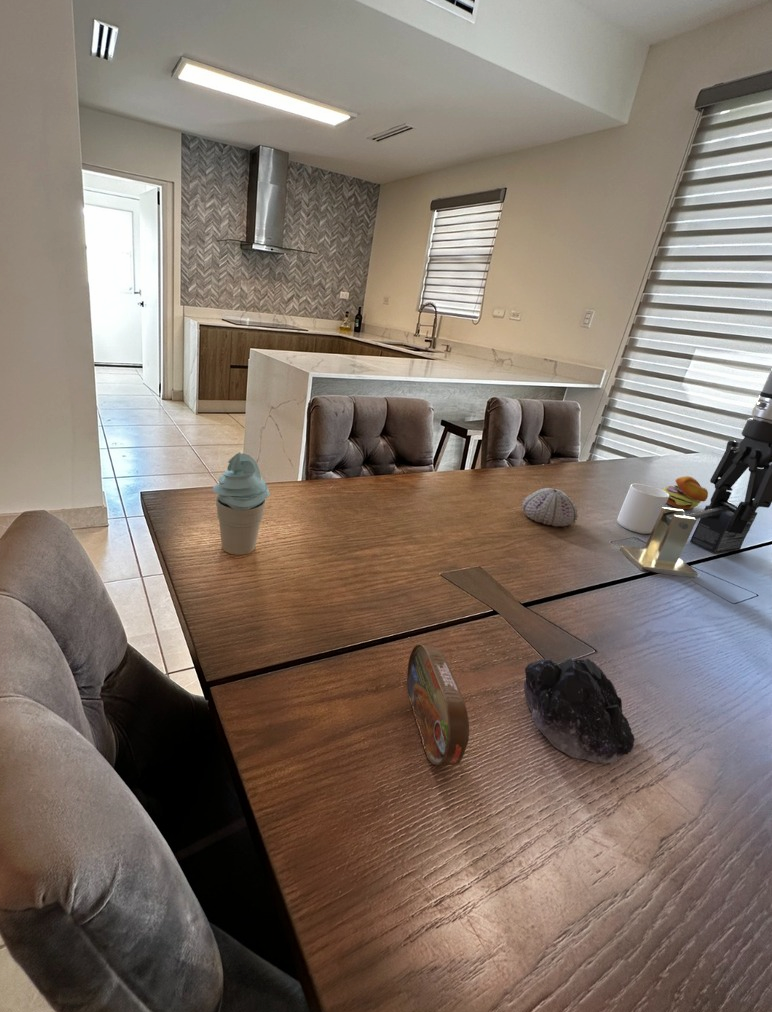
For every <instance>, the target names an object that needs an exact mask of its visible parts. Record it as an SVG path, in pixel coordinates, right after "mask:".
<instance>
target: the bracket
mask: <svg viewBox="0 0 772 1012" xmlns="http://www.w3.org/2000/svg"><path fill="white" fill-rule="evenodd" d="M678 512H680V513H682V514H683V515H685V513H686V512H685V509H681V508H675V507H674V508H673V507H666V506H665V507H662V509H661V511H660V514H659V516H658V518H657V521H656V523H655V525H654V527H653V530H652V532H651V533H650V534H649V537H648V539H647V542H646V544H645V546H644V548H642V547H634V546H626V545H621V546H620V549H619V551H620V552H621V553H622V554H623V555H624V556H625V557H626V558H627V559H628V560H629V561H630V562H631V563H632V564H633V565H634V566H635V567H636V568H638V569H639V571H641V572H647V573H654V574H655V573H656V574H663V575H670V576H677V577H685V578H692V579H697V577H698V576H699V572H697V571H696V570H695V569H694V568H693V567H691V566H690V565H689V564H687V562H685V561H684V560H683V559H682V558H680V557H681V555H682V553H683V550H684V548H685V546H686V545H687V542H688V540H689V538H690V536H691V534H692V533H693V529H694V527H695V525H696V524H697V520H698V519H696V518H694V517H686V516H678V515H673V518H672V520H671V522H670V524H669V526H668V525H667V524H666V515H669V514H673V513H678Z"/></svg>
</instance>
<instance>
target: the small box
mask: <svg viewBox="0 0 772 1012" xmlns="http://www.w3.org/2000/svg"><path fill="white" fill-rule="evenodd" d="M733 504H734V505H736V506H737V507H738V505H737V504H735V503H733ZM709 505H710V504H708V505H705V507H704V509H703V511H705V510H707V509H708V507H709ZM733 515H734V513H733V512H731V511H730V512H726V513H722V514H721V516H720V518H719V519H711V518H706V517H704V518H699V520H698V522H697V523H696V524H697V525H696V527H695V529H694V531H693V532H692V535H691V538H690V539H689V543H690V544H693V545H695V546H697V547H699V548H701V549H703V550H705V551H707V552H710V553H712V554H714V555H715V554H721V553H728V552H734V551H740V550H741V547H742V546H743V543H744V541H745V539H746V536H747V535H748V533H749V531H750V529H751V527H752V525H753V523H754V521H755V520H756V517H757V516H758V512H756V511H755V513H754V515H753V517H752V519H751V520H750V521H748V522H747V524H746V526H745V528H744V530H743V532H742V534H740V533H732V532H728V531H726V529H727V527H728V525H729V523H730V521H731V519H732V517H733Z"/></svg>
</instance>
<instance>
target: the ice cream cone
mask: <svg viewBox="0 0 772 1012" xmlns="http://www.w3.org/2000/svg"><path fill="white" fill-rule="evenodd" d="M227 463H228V466H227V470H225V471H223V472H222V474H223V475H221V476H220V477H219V478H218V483H217V484H215V485H214V486H213V487H212V491H213V493H215V494H216V495H217V496H216V499H215V506H216V515H217V519H218V523H219V532H220V543H221V548H222V550H223V551H224V552H226V553H227V552H228V554H231V555H234V554H235V556H242V555H243V556H244V555H248V554H250V553H252V552H254V551H255V549H256V546H257V541H258V535H259V531H260V526H261V522H262V520H263V517H264V511H265V508H266V499H268V498H269V497H270V495H271V492H270V490H269V489H268V488H269V486H268V484H267V483H266V481H265V480H264V478H263V477H262V474H261V471H260V470H261V469H260V468H259V465H258V463H257V461H256V460H255V458H254V457H252V456H251V455H249V454H246V453H241V451H239V452H238V453H236V454H235V455H233V456H232V457H231V458H230V459H228V460H227Z"/></svg>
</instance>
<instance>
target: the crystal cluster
mask: <svg viewBox="0 0 772 1012" xmlns="http://www.w3.org/2000/svg"><path fill="white" fill-rule="evenodd" d="M524 673H525V679H524V682H523V693H524V696H525V699H524V700H525V705H526V707H528V709H529V708H530V709H529V710H531V711H530V713H531V715H532V716H531V719H532V720H533V722H534V726H535V727H536V728H537V729H538V730H539V731H540V732H541V733H542V735H543V736H544V737H545V738H547V740H548V742H549V743H550V744H551V745H552V746H553V747H554V748H555V749H557V750H559V751H560V752H562V753H564V754H566V755H567V756H569V757H570V758H572V759H581V760H586V761H589V762H591V763H594V764H596V763H601V764H610V763H613V764H615V763H616V762H617V761H620V760H621V759H622V758H623V757H624V756H625V755H628V754H629V753H631V752H632V750H633V749H634V747H635V744H634V743H635V735H634V734H633V732H632V728H631V727H630V722H629V720H628V719H627V717H626V716H625V715H624V713H623V701H622V697H620V696H619V695H618V691H617V689H616V688H615V686H614V684H613V682H612V681H611V680H610V679H609V678H607V675H606V674H605V673H604V671H603V670H602V669H601V667H600V666H598V665H597V664H596V663H595V662H594V661H592V660H590V659H589V658H581V659H577V658H573V657H571V658H569V659H566V660H564V661H562V662H560V663H558V662H555V661H553V660H552V659H550V658H541V659H539V660H535V661H533V662H532V661H531V662H530V663H529V664H528V665H526V666H525V667H524ZM616 760H617V761H616Z"/></svg>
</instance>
